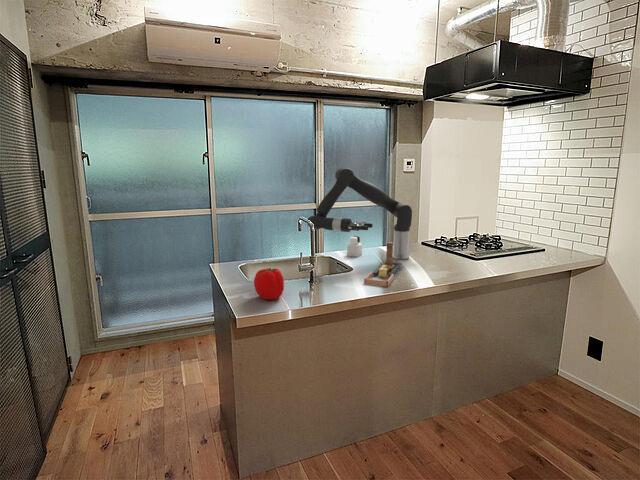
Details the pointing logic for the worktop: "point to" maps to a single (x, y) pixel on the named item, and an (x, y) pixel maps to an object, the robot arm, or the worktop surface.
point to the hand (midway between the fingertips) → (370, 226)
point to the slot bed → (395, 271)
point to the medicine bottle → (354, 247)
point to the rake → (389, 255)
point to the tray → (377, 282)
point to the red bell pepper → (269, 283)
